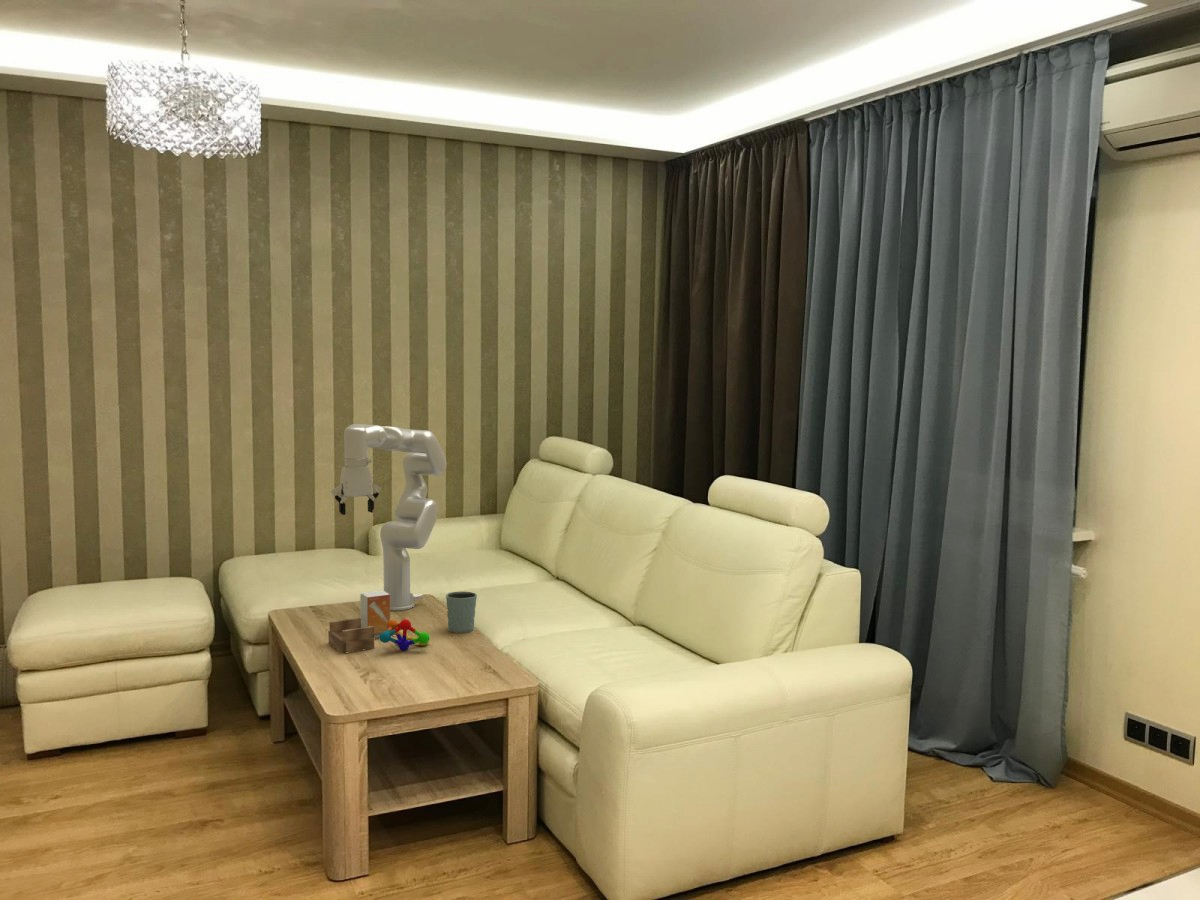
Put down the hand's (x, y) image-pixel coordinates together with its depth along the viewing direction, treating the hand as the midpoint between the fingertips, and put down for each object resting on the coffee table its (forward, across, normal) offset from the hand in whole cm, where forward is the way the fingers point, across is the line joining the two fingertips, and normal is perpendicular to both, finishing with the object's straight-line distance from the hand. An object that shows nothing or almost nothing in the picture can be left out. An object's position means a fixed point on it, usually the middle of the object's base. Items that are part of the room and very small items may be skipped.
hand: (356, 513), depth 348 cm
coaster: (+38, 0, +15) cm, 41 cm away
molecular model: (+39, -3, +36) cm, 53 cm away
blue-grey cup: (+38, -27, +25) cm, 53 cm away
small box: (+38, 0, +15) cm, 41 cm away
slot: (+38, +11, +24) cm, 47 cm away
